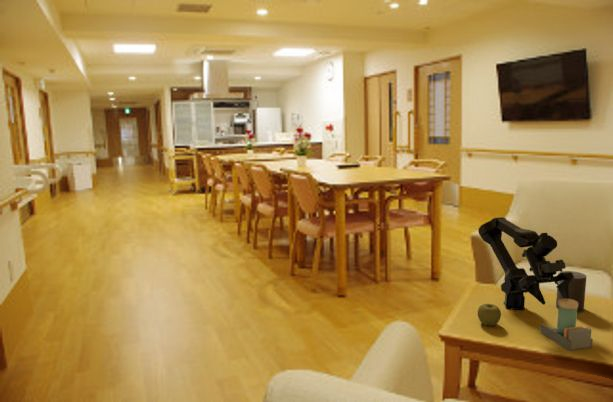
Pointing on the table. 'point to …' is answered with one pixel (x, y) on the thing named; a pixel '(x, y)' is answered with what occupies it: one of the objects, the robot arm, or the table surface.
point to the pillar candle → (575, 290)
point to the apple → (489, 314)
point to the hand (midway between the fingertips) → (556, 302)
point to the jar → (566, 314)
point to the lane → (570, 337)
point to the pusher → (566, 330)
